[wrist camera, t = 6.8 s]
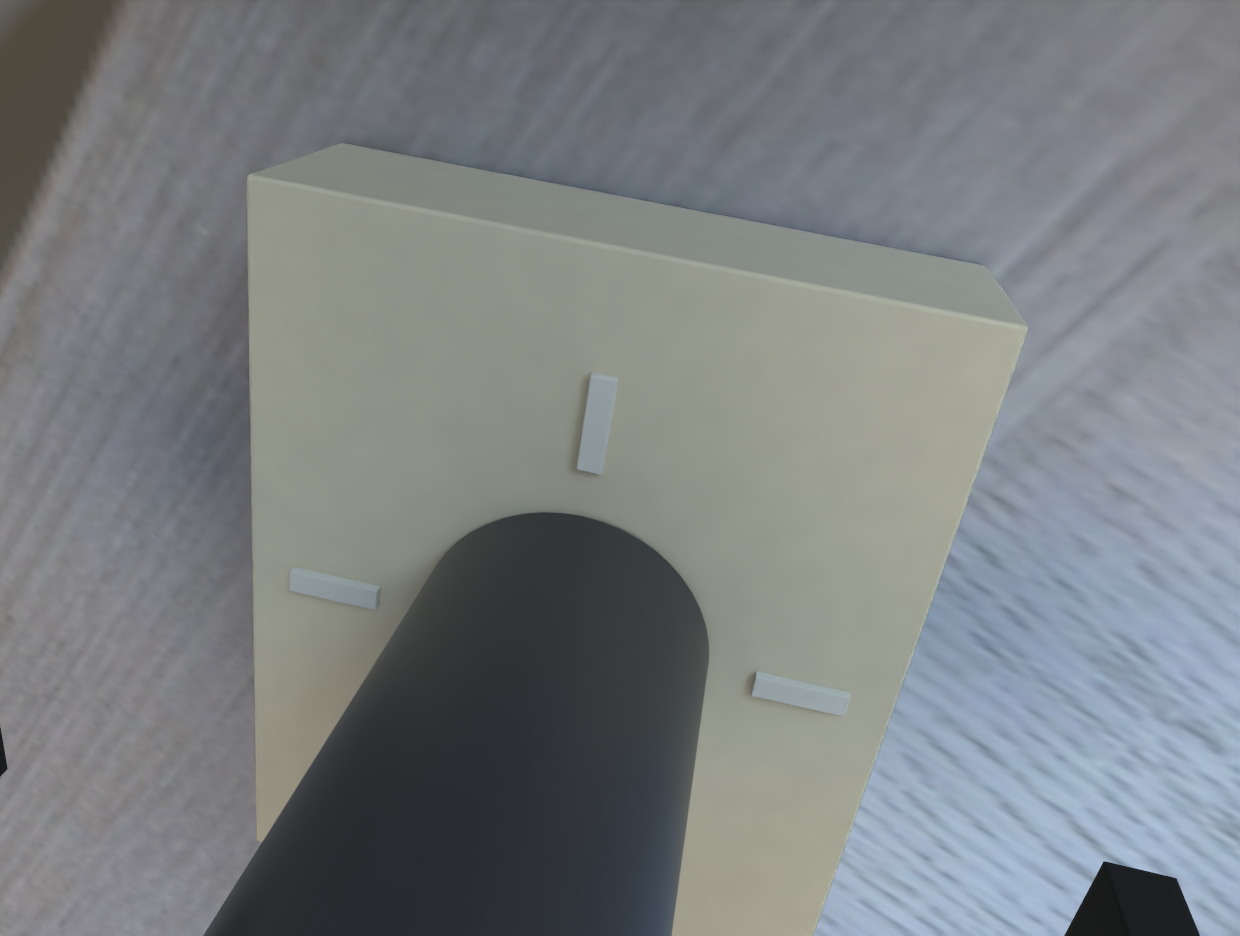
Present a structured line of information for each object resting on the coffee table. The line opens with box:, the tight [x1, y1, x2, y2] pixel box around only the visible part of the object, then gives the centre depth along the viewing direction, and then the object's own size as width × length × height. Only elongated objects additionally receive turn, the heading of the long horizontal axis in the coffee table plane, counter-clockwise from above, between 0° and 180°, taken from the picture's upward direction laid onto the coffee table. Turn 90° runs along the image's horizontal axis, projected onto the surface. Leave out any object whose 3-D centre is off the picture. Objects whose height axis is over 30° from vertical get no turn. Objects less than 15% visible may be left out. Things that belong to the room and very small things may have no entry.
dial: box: [204, 512, 709, 936], centre depth 11 cm, size 4×4×8 cm
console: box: [246, 143, 1028, 936], centre depth 16 cm, size 12×10×3 cm
